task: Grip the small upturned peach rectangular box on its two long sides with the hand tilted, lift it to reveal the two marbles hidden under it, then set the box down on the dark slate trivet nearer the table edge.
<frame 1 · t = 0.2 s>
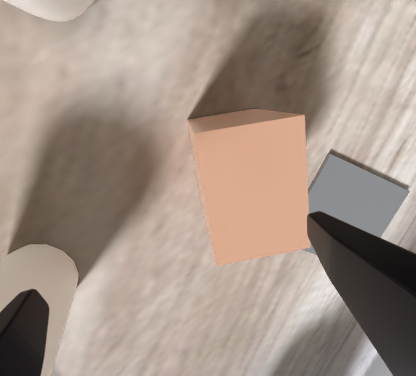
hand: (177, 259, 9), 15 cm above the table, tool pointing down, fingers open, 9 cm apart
foam cup: (42, 274, 26), on the table
trivet: (343, 215, 27), on the table
peach rectangular box: (227, 159, 24), on the table
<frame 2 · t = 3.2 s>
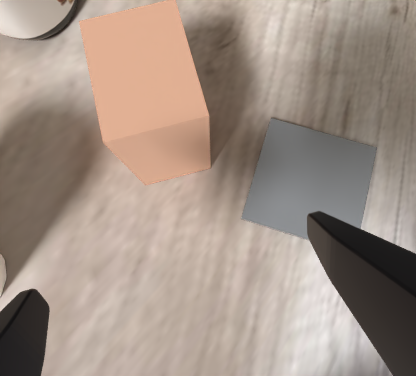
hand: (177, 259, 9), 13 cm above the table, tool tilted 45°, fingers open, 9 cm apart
trivet: (309, 183, 24), on the table
peach rectangular box: (167, 135, 25), on the table
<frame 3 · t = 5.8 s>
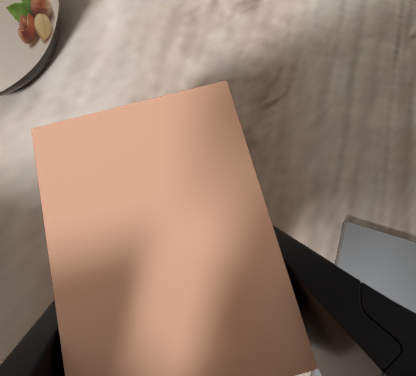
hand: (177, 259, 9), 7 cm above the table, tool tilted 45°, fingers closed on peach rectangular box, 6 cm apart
trivet: (410, 329, 15), on the table
peach rectangular box: (189, 246, 16), on the table, touching gripper
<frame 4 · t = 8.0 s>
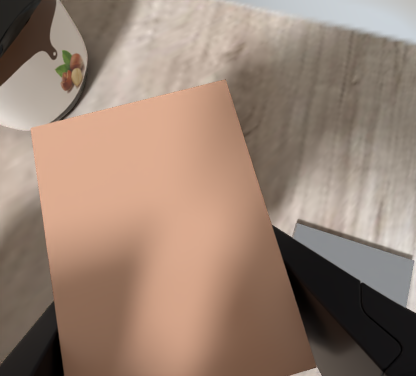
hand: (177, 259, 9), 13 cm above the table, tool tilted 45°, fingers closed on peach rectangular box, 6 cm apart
trivet: (339, 300, 21), on the table
peach rectangular box: (189, 245, 16), point 6 cm above the table, touching gripper
spread jar: (34, 72, 26), on the table
when the fingers open (8 cm above the table, at t = 10.0 s): peach rectangular box stays where it is, resting on trivet.
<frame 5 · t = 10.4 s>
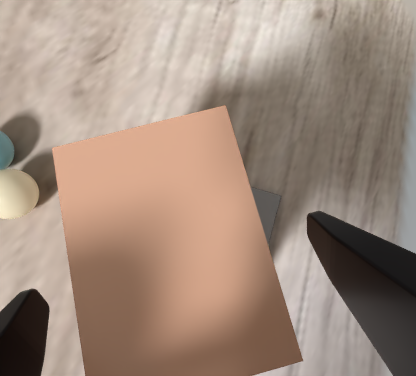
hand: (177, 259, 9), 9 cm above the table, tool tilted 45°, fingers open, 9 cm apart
marble b: (26, 198, 19), on the table
trivet: (190, 243, 18), on the table
peach rectangular box: (191, 249, 17), resting on trivet
marble a: (2, 158, 19), on the table
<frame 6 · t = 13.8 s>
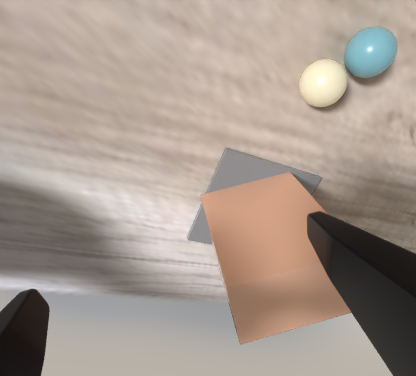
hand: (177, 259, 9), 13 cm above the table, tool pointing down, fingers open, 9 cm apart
marble b: (311, 79, 20), on the table
trivet: (252, 207, 25), on the table
peach rectangular box: (249, 210, 25), resting on trivet
marble a: (355, 50, 20), on the table
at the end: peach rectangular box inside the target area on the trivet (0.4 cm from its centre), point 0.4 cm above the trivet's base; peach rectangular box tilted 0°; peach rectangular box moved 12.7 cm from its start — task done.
